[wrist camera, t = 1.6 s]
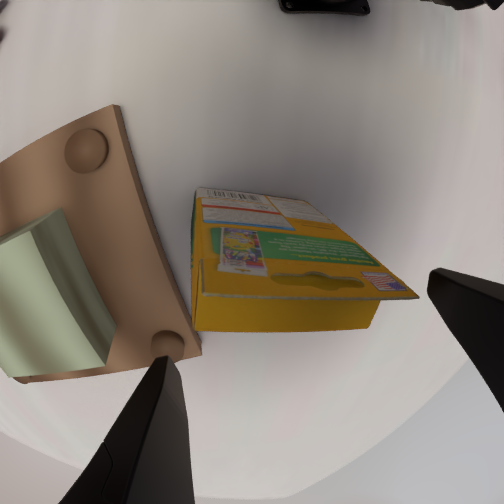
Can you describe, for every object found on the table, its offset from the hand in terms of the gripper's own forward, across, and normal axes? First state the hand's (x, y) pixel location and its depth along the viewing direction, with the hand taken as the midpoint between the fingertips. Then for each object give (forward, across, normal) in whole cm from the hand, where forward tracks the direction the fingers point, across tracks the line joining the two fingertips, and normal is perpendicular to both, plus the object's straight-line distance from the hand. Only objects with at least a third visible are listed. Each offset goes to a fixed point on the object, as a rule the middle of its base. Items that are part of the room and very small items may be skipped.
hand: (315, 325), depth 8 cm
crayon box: (+11, 0, 0) cm, 11 cm away
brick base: (+11, +16, 0) cm, 19 cm away
